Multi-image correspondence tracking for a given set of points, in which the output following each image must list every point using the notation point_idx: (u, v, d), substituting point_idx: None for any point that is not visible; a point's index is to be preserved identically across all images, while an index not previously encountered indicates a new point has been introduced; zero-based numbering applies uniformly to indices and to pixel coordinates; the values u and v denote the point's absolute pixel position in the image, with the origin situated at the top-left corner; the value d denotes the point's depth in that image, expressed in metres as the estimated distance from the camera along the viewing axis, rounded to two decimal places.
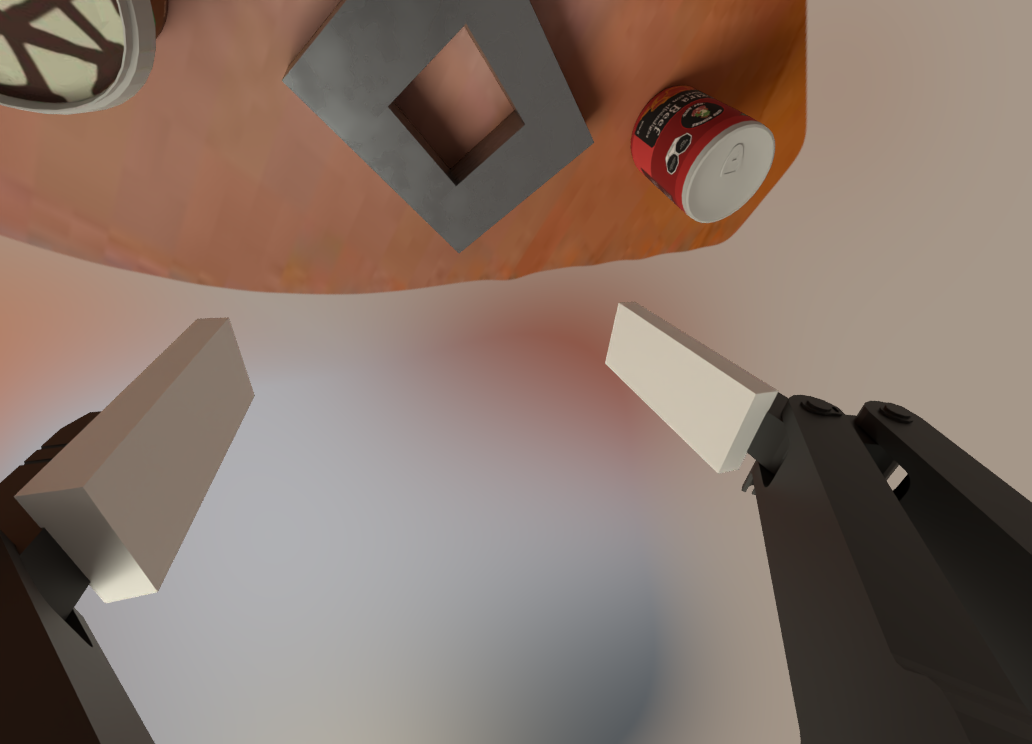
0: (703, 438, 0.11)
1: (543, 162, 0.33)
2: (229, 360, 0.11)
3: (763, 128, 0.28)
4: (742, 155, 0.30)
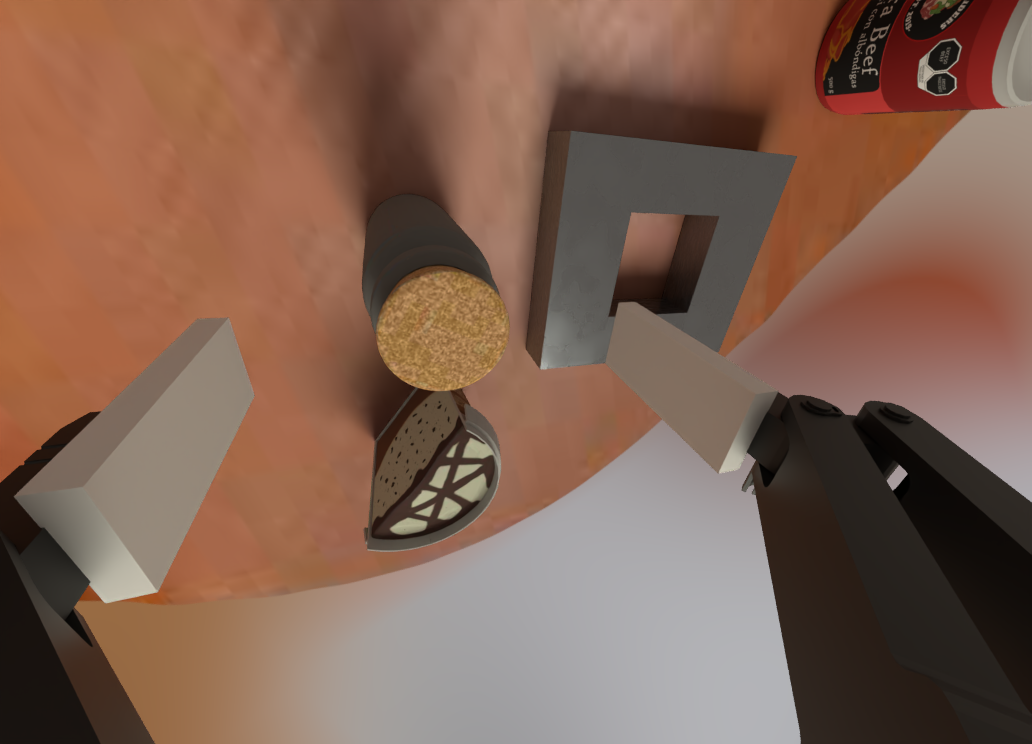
0: (703, 438, 0.11)
1: (755, 221, 0.29)
2: (229, 360, 0.11)
3: None
4: None
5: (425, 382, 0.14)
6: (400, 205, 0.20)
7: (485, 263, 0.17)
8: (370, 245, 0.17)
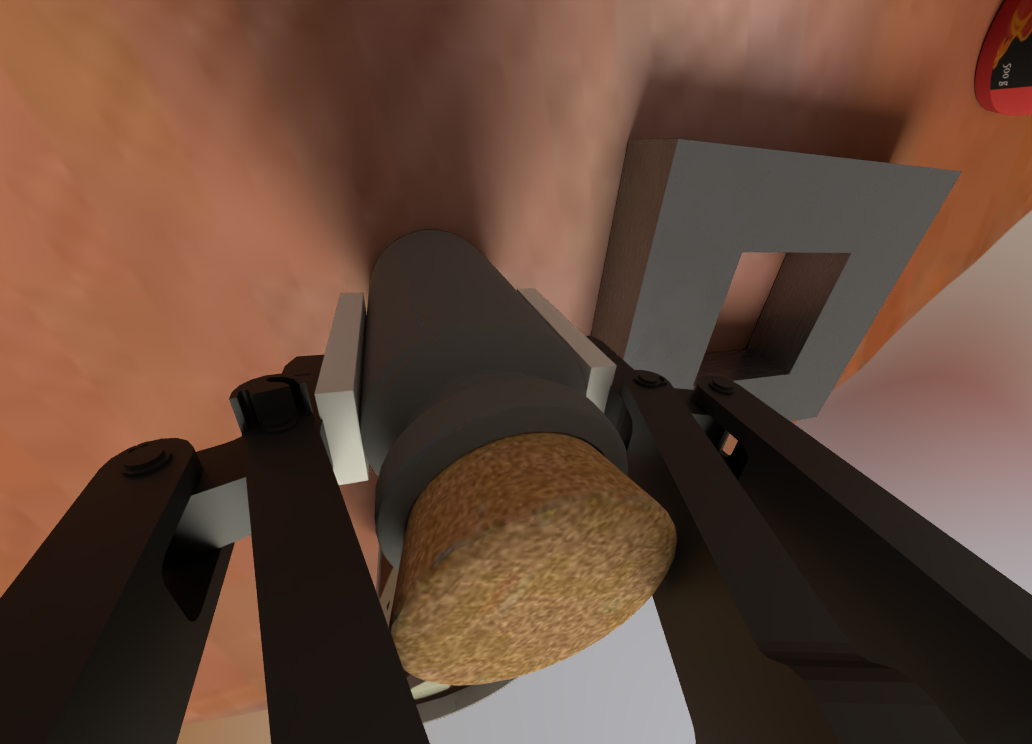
0: None
1: (892, 258, 0.21)
2: None
3: None
4: None
5: (492, 677, 0.06)
6: (422, 256, 0.13)
7: (579, 374, 0.09)
8: (375, 342, 0.09)
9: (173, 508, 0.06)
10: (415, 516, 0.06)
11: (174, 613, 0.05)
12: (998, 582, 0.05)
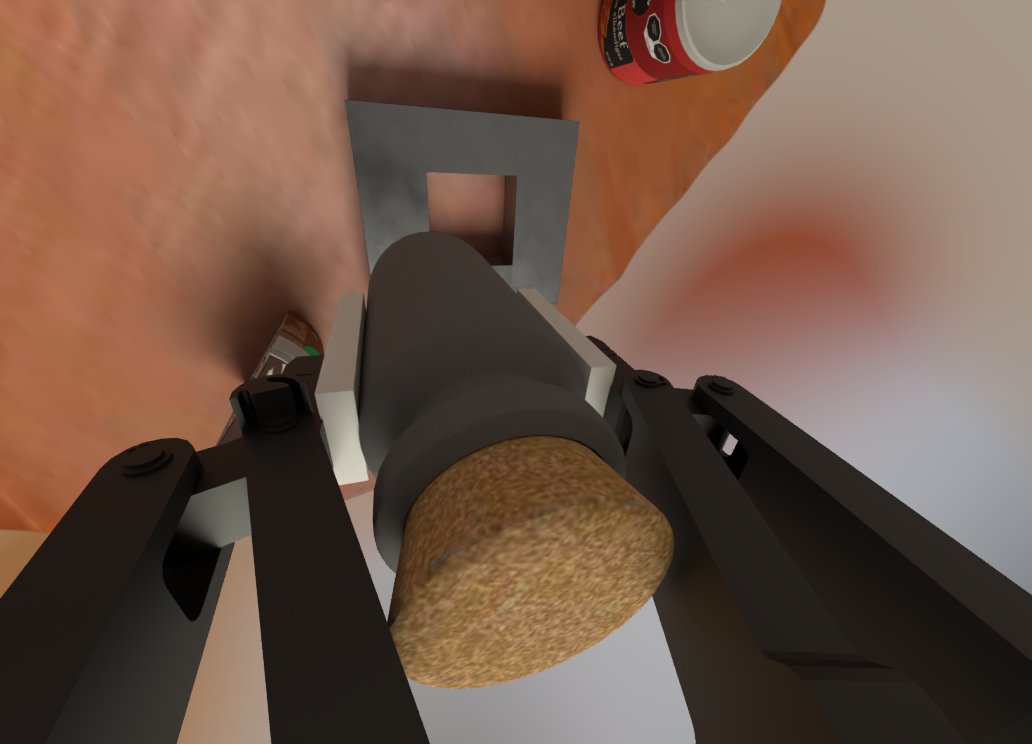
0: None
1: (555, 180, 0.33)
2: None
3: None
4: None
5: (490, 680, 0.07)
6: (422, 258, 0.13)
7: (578, 376, 0.09)
8: (374, 344, 0.09)
9: (173, 508, 0.06)
10: (413, 520, 0.06)
11: (174, 613, 0.05)
12: (998, 582, 0.05)
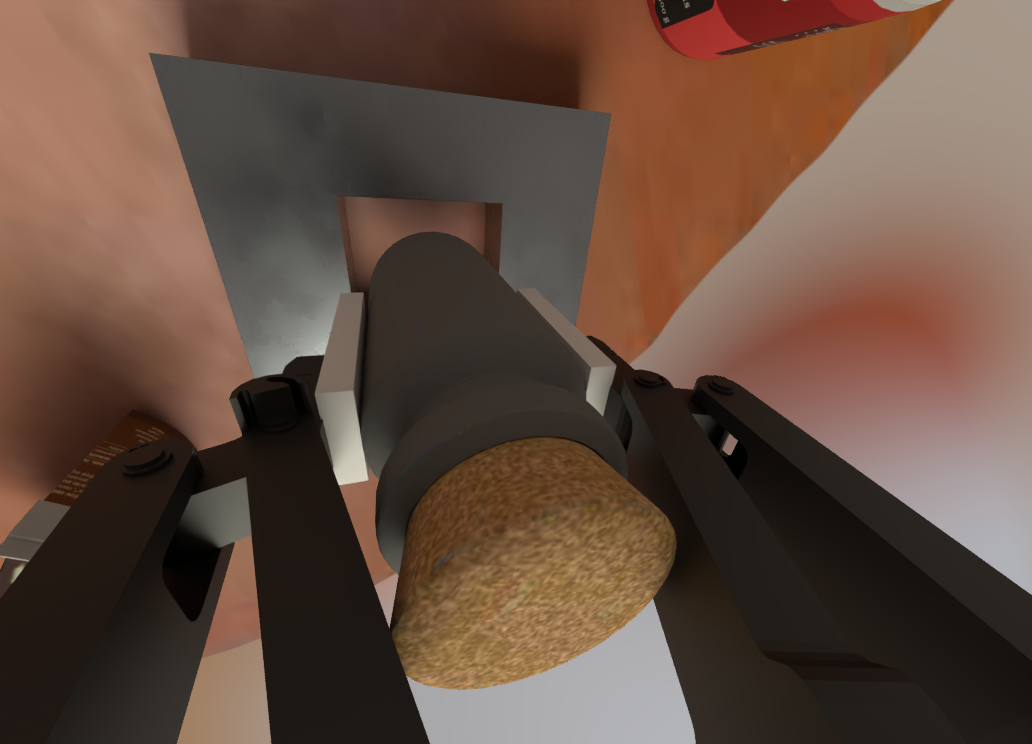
0: None
1: (567, 211, 0.20)
2: (366, 326, 0.13)
3: None
4: None
5: (492, 681, 0.07)
6: (423, 259, 0.13)
7: (579, 377, 0.09)
8: (376, 345, 0.10)
9: (173, 508, 0.06)
10: (415, 521, 0.06)
11: (174, 613, 0.05)
12: (998, 582, 0.05)
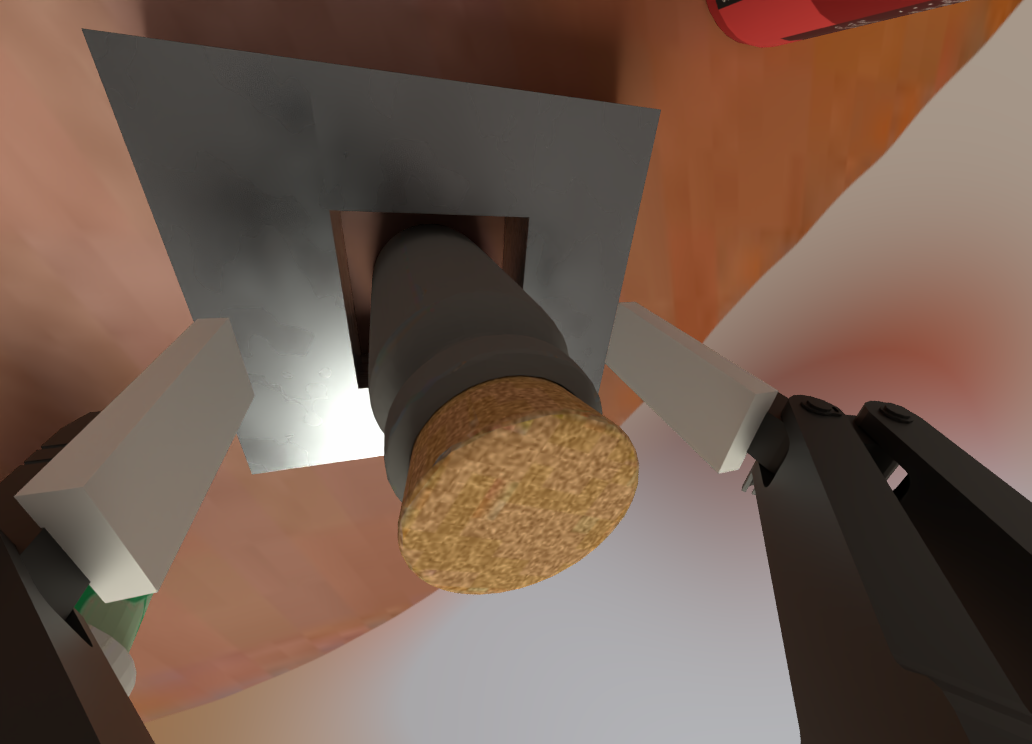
0: (703, 438, 0.11)
1: (604, 226, 0.17)
2: (229, 360, 0.11)
3: None
4: None
5: (484, 587, 0.08)
6: (423, 244, 0.14)
7: (563, 342, 0.11)
8: (381, 315, 0.11)
9: None
10: (419, 443, 0.07)
11: None
12: None
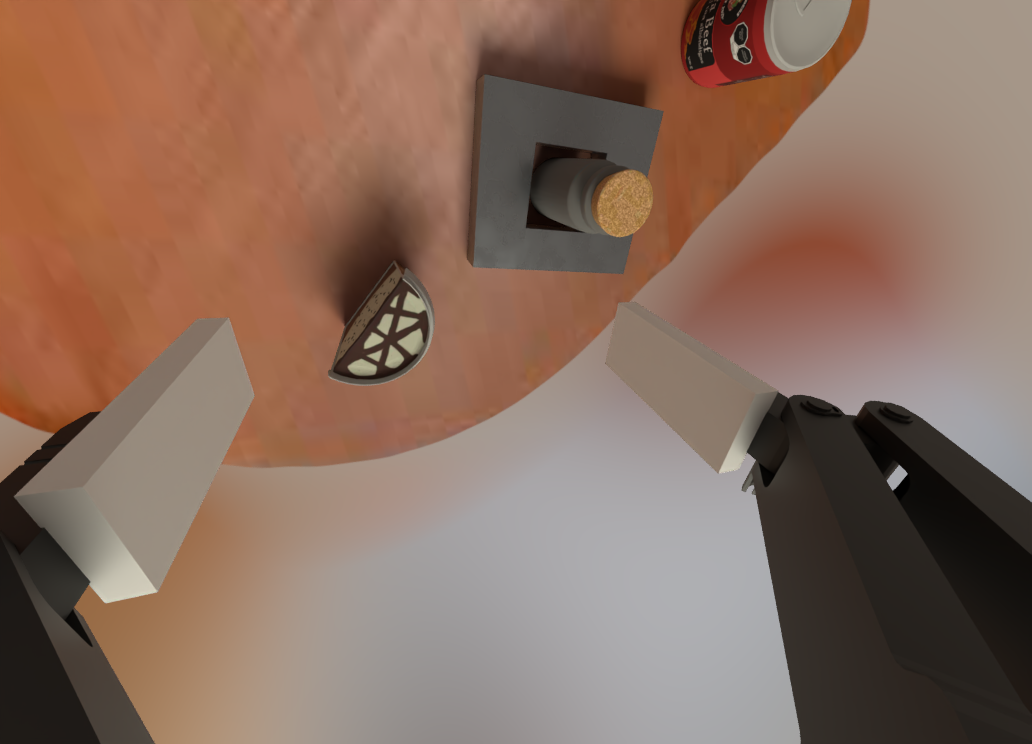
0: (703, 438, 0.11)
1: (637, 161, 0.38)
2: (229, 360, 0.11)
3: None
4: None
5: (610, 229, 0.29)
6: (568, 158, 0.35)
7: None
8: (567, 172, 0.32)
9: None
10: (599, 185, 0.28)
11: None
12: None
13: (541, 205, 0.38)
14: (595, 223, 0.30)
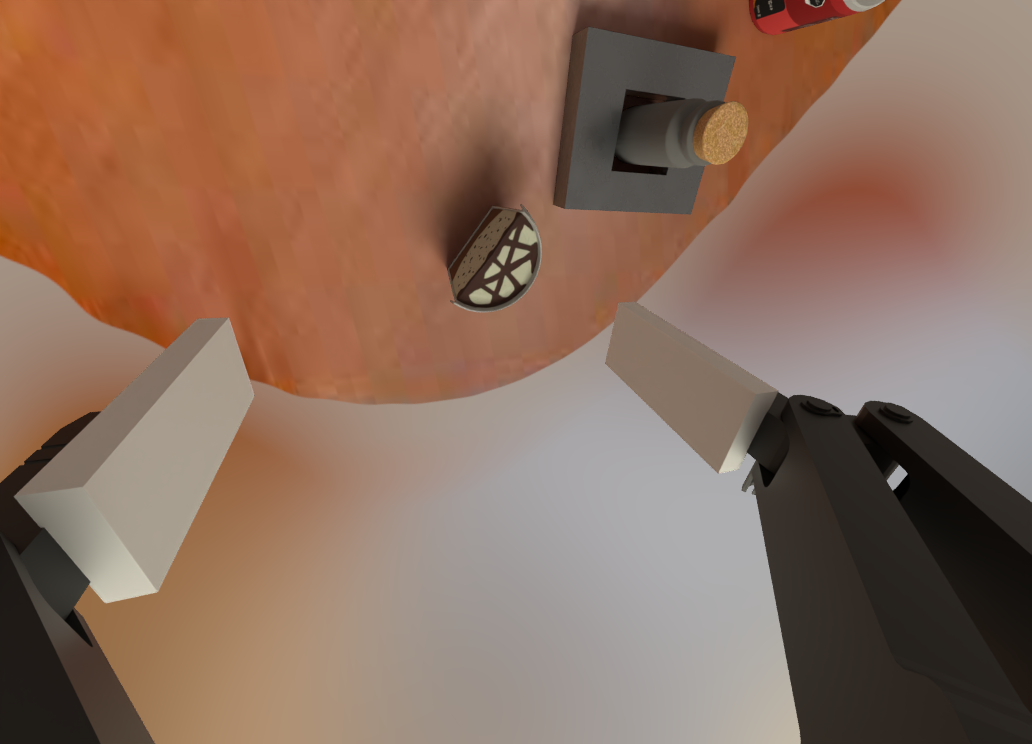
0: (703, 438, 0.11)
1: None
2: (229, 360, 0.11)
3: None
4: None
5: (711, 157, 0.34)
6: (655, 103, 0.40)
7: None
8: (663, 112, 0.37)
9: None
10: (702, 118, 0.33)
11: None
12: None
13: (626, 149, 0.42)
14: (694, 154, 0.35)
